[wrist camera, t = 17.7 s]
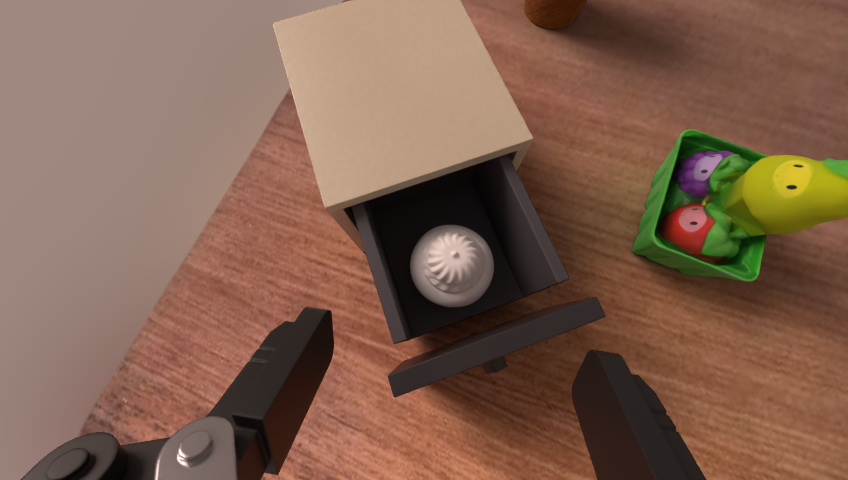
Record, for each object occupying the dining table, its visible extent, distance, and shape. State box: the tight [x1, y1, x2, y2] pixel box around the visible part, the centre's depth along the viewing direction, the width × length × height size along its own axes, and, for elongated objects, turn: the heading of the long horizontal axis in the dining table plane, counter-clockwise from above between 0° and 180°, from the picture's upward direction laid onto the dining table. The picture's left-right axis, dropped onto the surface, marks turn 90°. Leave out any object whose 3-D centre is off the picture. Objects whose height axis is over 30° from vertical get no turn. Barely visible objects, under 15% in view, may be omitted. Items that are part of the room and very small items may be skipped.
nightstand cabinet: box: [273, 0, 533, 252], centre depth 27 cm, size 16×14×11 cm
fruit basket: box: [632, 129, 848, 282], centre depth 24 cm, size 11×9×11 cm
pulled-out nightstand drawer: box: [351, 154, 606, 397], centre depth 23 cm, size 16×13×9 cm
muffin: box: [410, 225, 494, 307], centre depth 23 cm, size 6×6×7 cm
